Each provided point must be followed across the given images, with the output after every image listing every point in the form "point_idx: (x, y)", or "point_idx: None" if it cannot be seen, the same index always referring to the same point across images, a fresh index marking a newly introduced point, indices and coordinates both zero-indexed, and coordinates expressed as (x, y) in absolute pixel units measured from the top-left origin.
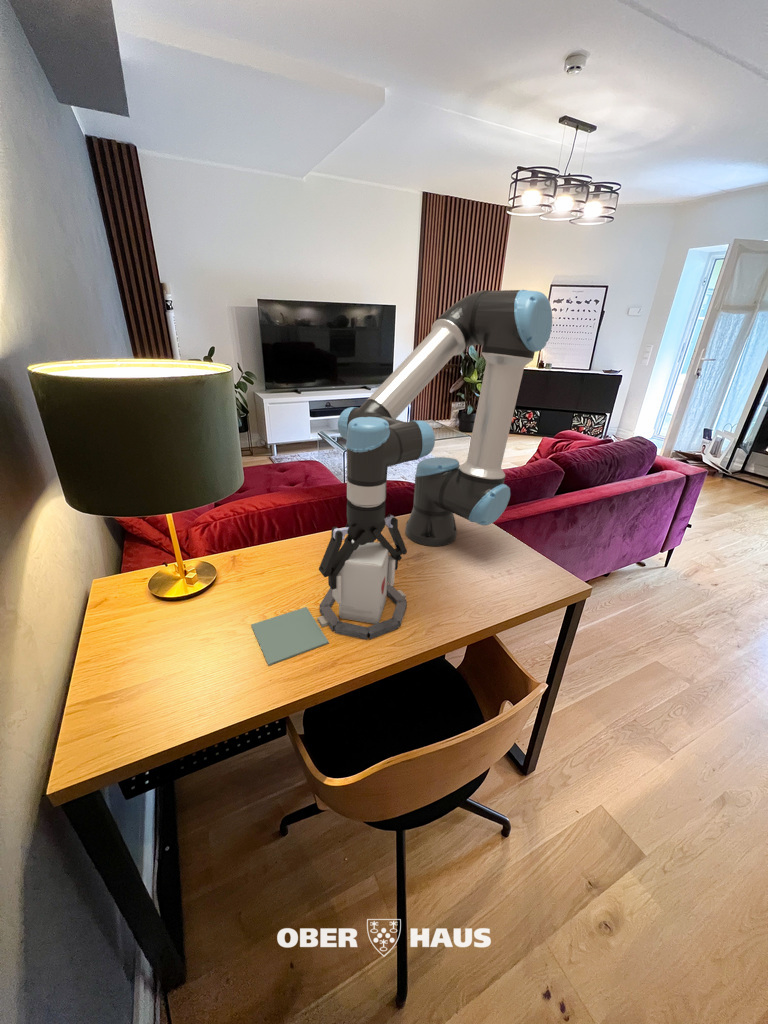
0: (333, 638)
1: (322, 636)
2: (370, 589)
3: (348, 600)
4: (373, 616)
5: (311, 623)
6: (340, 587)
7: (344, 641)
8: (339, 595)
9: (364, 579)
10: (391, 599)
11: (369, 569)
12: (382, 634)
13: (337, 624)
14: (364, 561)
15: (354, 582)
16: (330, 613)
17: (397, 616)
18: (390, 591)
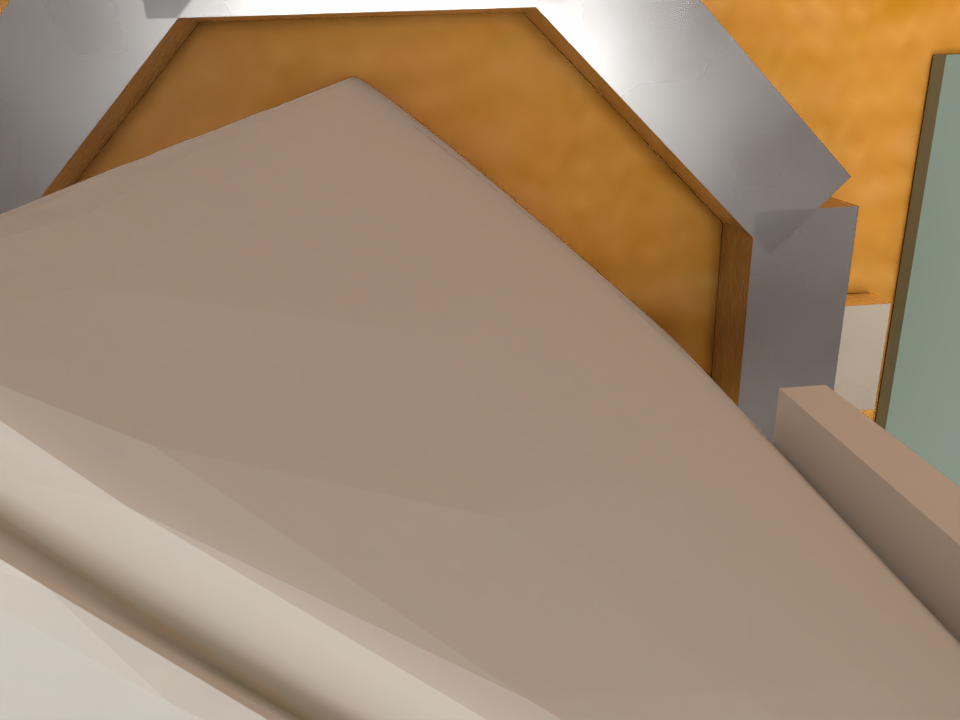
0: (858, 101)
1: (953, 157)
2: (486, 227)
3: (697, 372)
4: (403, 116)
5: (940, 367)
6: (945, 522)
7: (791, 6)
8: (871, 441)
9: (670, 412)
10: None
11: (681, 585)
12: None
13: (803, 207)
14: None
15: (793, 491)
16: (777, 392)
17: (89, 9)
18: None
